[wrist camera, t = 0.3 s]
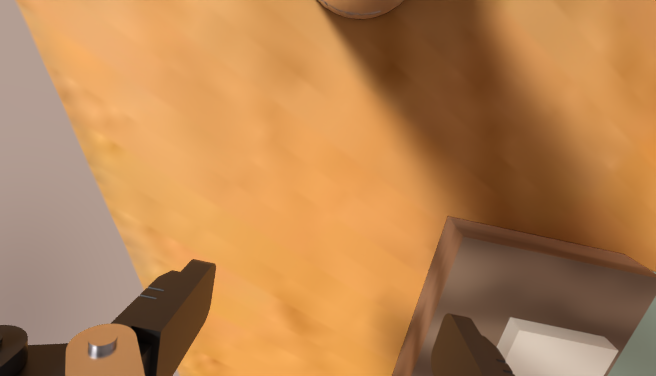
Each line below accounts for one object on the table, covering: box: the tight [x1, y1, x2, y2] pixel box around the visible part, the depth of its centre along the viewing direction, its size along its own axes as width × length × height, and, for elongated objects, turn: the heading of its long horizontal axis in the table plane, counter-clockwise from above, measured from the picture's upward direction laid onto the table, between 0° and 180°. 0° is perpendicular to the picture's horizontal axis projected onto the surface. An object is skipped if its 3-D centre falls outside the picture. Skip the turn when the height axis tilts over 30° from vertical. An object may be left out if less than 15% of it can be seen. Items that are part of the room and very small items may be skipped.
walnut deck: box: [392, 216, 656, 376], centre depth 31 cm, size 24×16×4 cm, turn 168°
